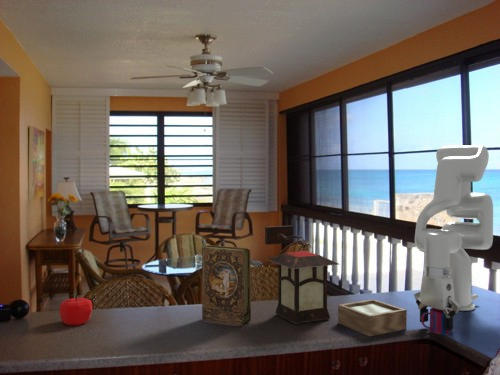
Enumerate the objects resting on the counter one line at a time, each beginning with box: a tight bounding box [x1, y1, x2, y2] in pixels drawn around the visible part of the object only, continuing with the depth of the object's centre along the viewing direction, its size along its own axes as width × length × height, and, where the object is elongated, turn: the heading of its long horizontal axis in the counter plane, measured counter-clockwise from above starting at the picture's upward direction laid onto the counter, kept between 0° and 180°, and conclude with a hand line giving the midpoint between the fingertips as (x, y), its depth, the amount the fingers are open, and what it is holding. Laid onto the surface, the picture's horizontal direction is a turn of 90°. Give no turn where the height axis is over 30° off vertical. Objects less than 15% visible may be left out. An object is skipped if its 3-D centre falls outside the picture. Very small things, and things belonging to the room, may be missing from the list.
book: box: [201, 245, 252, 327], centre depth 173 cm, size 16×6×25 cm, turn 65°
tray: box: [337, 299, 408, 337], centre depth 168 cm, size 15×15×6 cm
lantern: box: [264, 225, 340, 325], centre depth 181 cm, size 18×26×30 cm
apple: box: [59, 292, 93, 326], centre depth 172 cm, size 11×11×10 cm
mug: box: [420, 307, 453, 336], centre depth 163 cm, size 7×10×7 cm
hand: (435, 325), depth 163 cm, fingers open, 9 cm apart
